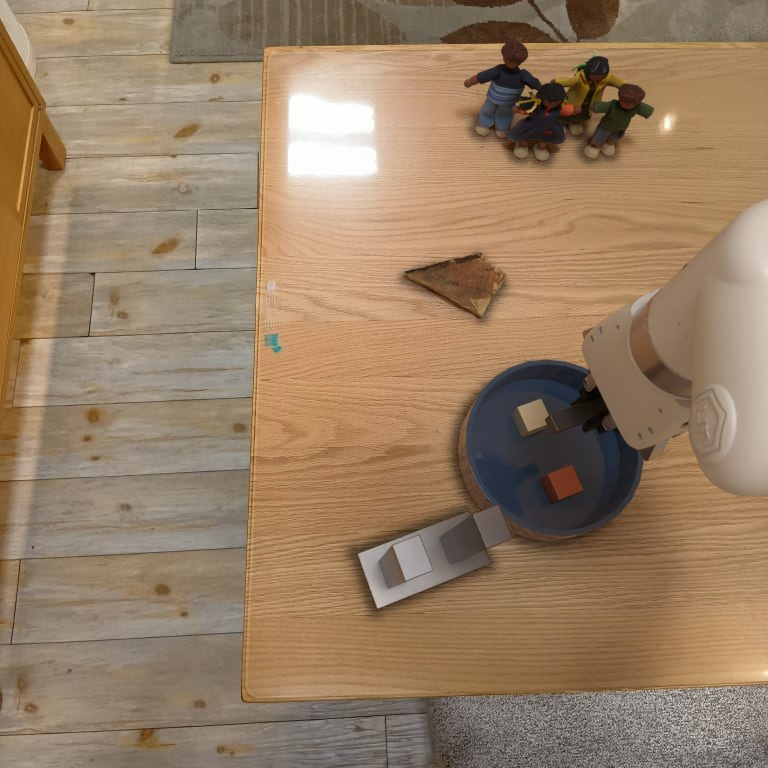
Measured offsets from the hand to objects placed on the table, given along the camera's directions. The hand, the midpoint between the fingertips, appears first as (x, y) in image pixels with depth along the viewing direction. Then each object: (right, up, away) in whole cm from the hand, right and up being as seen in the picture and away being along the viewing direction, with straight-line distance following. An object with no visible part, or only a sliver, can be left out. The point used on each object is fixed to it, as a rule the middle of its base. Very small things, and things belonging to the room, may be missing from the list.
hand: (591, 413), depth 62 cm
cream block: (-2, -2, +16) cm, 16 cm away
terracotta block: (0, -9, +14) cm, 17 cm away
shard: (-10, +14, +22) cm, 28 cm away
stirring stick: (0, 0, -1) cm, 1 cm away
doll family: (+2, +36, +30) cm, 47 cm away
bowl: (-1, -5, +16) cm, 17 cm away
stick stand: (-15, -16, +11) cm, 25 cm away
